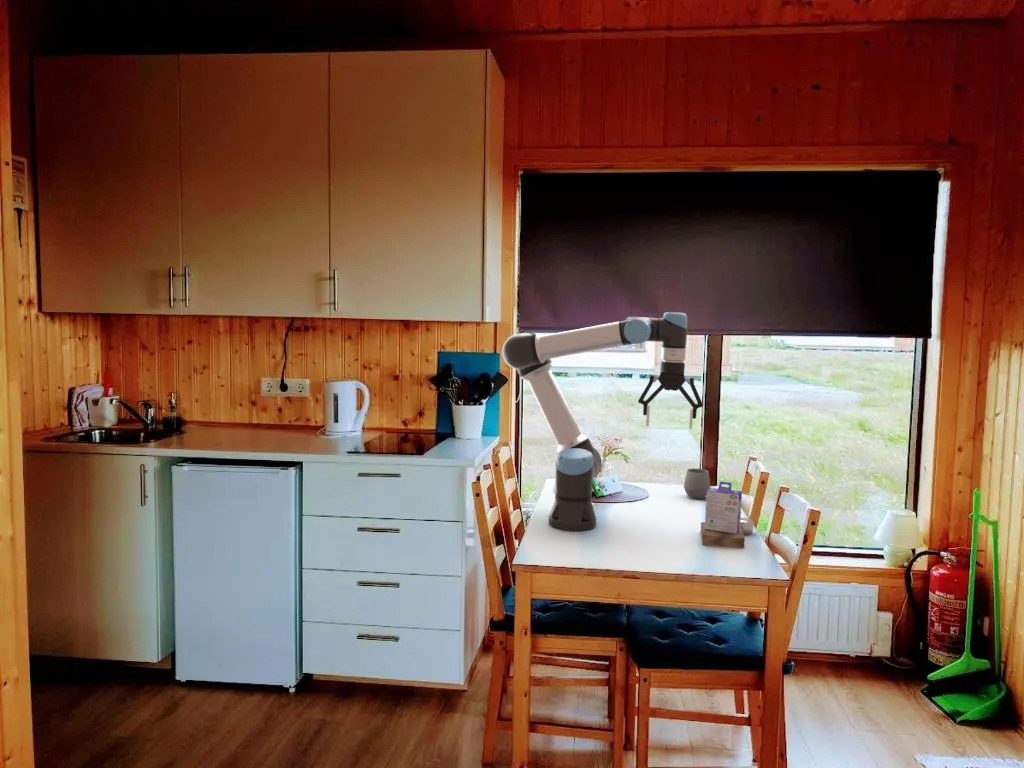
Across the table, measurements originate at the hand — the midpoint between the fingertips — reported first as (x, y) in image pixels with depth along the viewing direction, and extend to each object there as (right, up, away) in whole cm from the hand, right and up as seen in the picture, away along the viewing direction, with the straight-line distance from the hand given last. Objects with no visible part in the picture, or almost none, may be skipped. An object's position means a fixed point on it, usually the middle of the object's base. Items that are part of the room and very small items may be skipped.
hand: (668, 427), depth 257 cm
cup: (+18, -28, +38) cm, 50 cm away
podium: (+13, -33, -14) cm, 39 cm away
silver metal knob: (+22, -33, -5) cm, 40 cm away
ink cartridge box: (+13, -31, -14) cm, 36 cm away
